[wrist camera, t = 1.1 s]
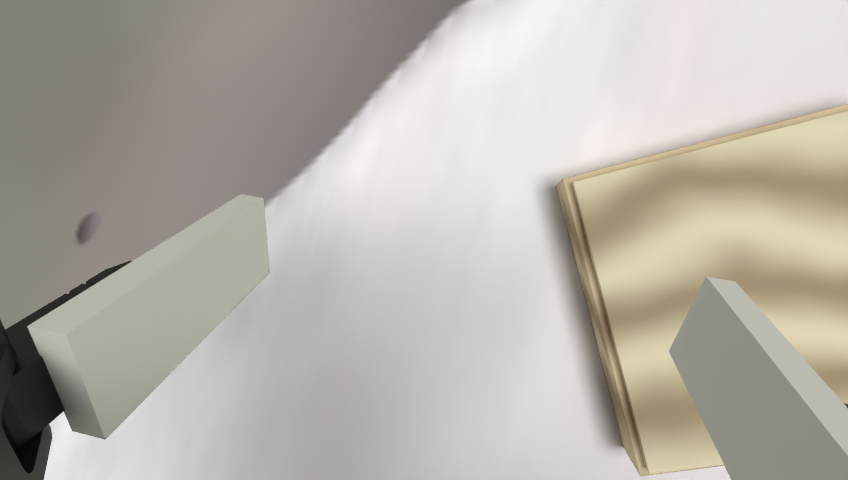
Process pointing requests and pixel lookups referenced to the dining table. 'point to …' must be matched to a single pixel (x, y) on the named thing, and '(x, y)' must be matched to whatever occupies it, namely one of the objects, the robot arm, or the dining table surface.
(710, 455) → the stand
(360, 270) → the dining table surface
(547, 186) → the dining table surface
